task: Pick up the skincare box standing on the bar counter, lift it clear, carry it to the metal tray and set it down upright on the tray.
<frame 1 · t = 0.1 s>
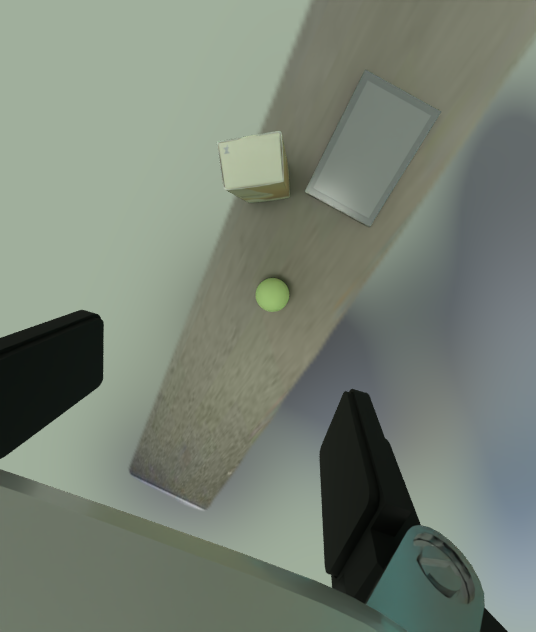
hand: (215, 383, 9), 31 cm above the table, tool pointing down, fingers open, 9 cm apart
lime: (274, 291, 40), on the table
skincare box: (268, 184, 35), on the table
metal tray: (366, 156, 32), on the table
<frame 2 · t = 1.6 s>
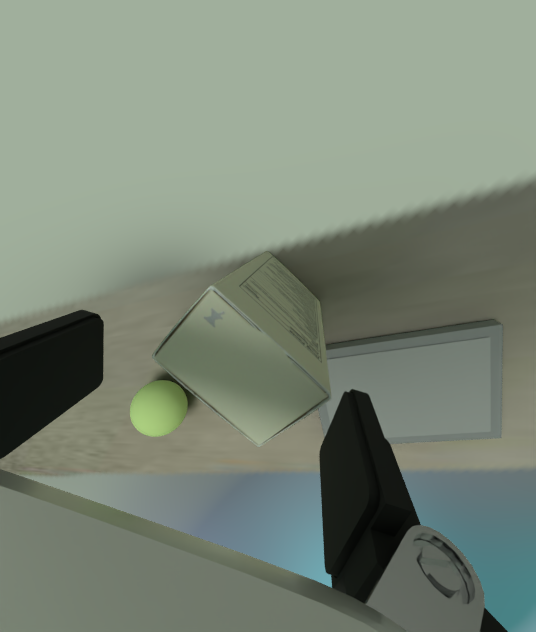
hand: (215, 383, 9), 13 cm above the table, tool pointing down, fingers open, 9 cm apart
lime: (173, 391, 26), on the table
skincare box: (278, 295, 21), on the table
metal tray: (398, 387, 22), on the table
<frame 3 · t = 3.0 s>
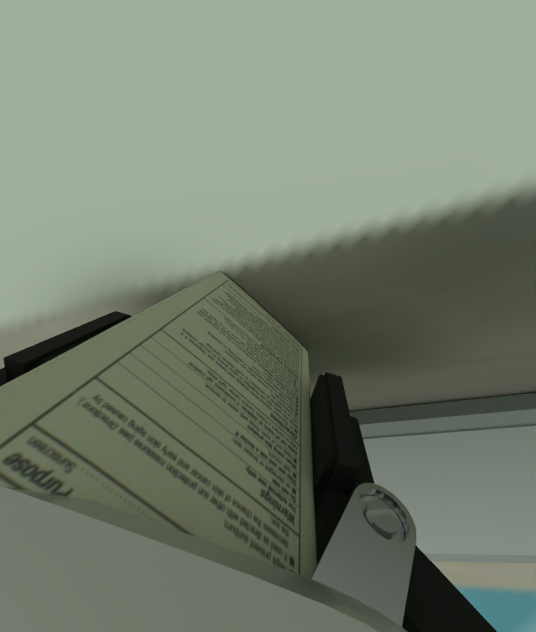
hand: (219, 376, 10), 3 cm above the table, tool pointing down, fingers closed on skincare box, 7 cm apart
skincare box: (242, 339, 13), on the table, touching gripper
metal tray: (430, 479, 14), on the table
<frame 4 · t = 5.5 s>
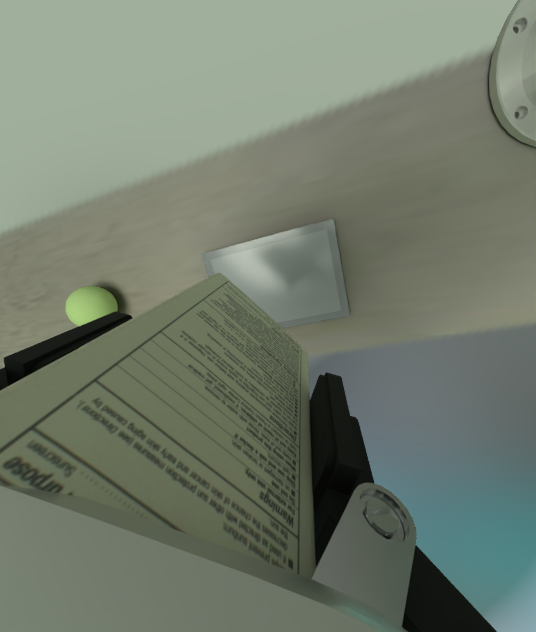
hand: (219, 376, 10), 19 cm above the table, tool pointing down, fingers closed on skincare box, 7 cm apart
lime: (108, 302, 32), on the table
skincare box: (242, 340, 13), point 16 cm above the table, touching gripper
metal tray: (276, 282, 28), on the table
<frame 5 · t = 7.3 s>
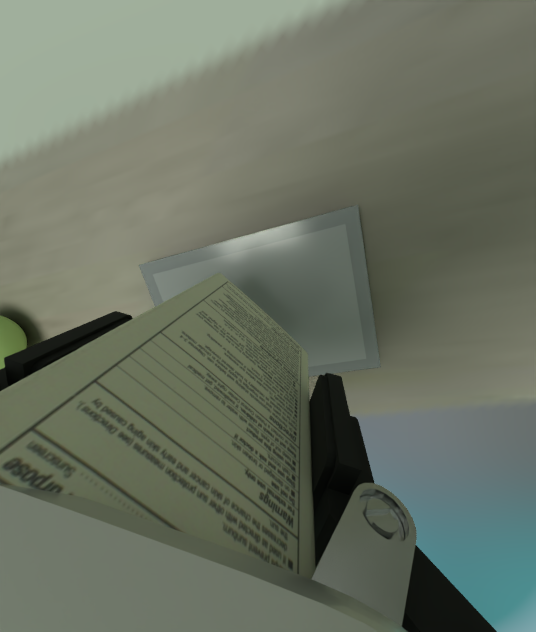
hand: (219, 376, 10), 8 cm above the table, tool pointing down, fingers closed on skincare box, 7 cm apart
lime: (17, 332, 22), on the table
skincare box: (242, 340, 13), point 5 cm above the table, touching gripper
metal tray: (261, 310, 17), on the table
when the fingers open (5 cm above the table, at t = 8.6 s): skincare box stays where it is, resting on metal tray.
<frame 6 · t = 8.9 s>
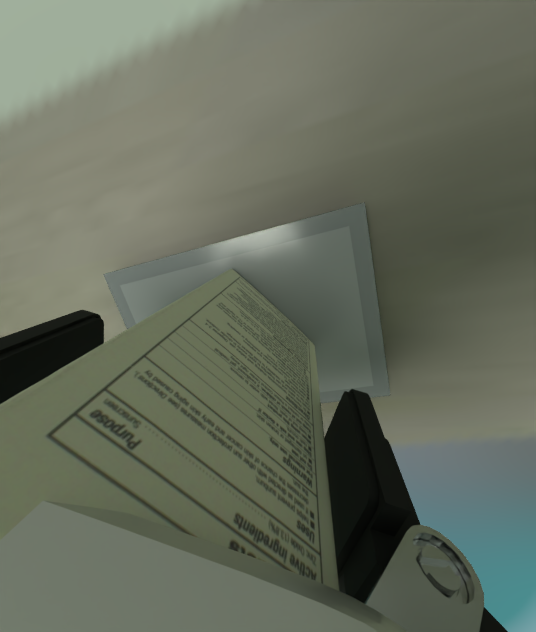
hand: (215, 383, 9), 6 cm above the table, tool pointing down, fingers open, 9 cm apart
skincare box: (252, 333, 14), point 1 cm above the table, touching metal tray
metal tray: (249, 327, 15), on the table
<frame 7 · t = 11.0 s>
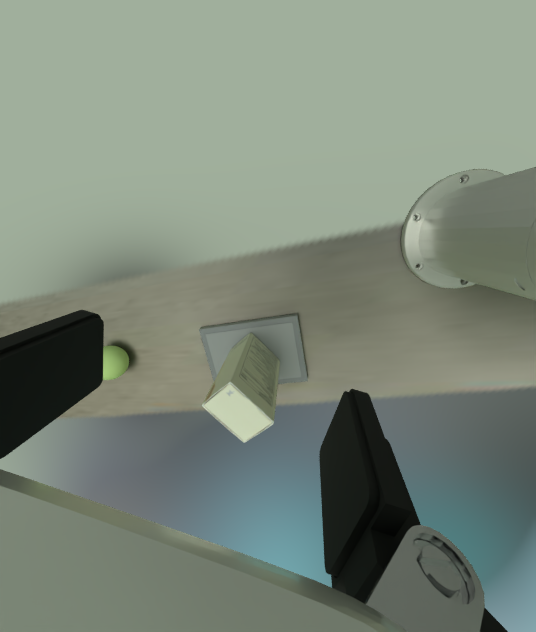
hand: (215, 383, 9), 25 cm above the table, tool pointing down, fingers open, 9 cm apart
lime: (121, 354, 40), on the table
skincare box: (256, 355, 36), point 1 cm above the table, touching metal tray
metal tray: (254, 352, 37), on the table
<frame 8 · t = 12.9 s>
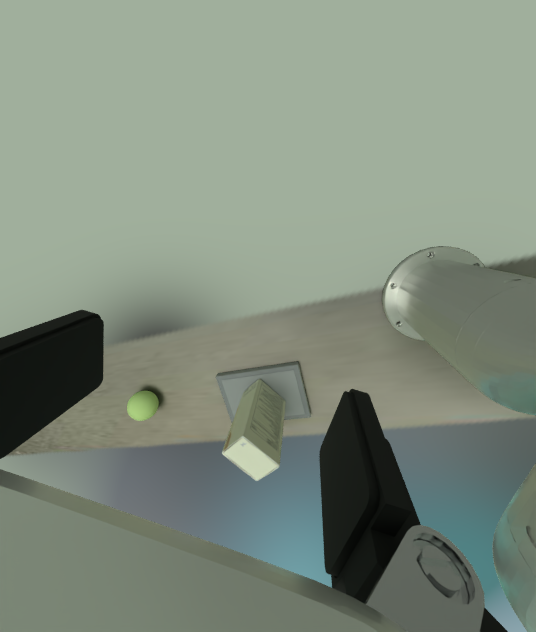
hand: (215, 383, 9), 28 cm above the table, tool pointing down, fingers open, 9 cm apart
lime: (151, 396, 47), on the table
skincare box: (265, 396, 42), point 1 cm above the table, touching metal tray
metal tray: (264, 393, 43), on the table
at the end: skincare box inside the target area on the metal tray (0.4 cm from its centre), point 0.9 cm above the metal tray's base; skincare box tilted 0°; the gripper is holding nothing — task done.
